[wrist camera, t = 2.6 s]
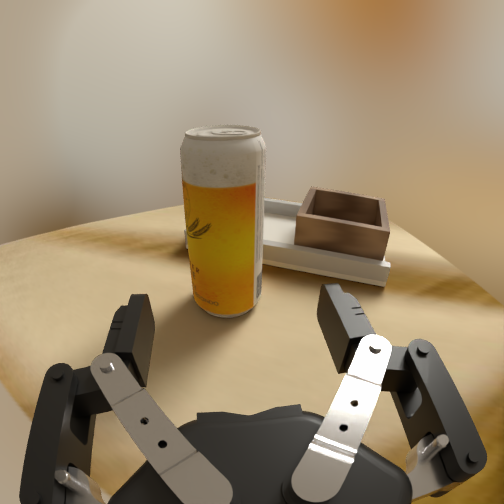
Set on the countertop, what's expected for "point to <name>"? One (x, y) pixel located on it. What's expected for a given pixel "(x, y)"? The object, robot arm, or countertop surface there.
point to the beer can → (224, 215)
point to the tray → (311, 250)
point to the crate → (343, 223)
